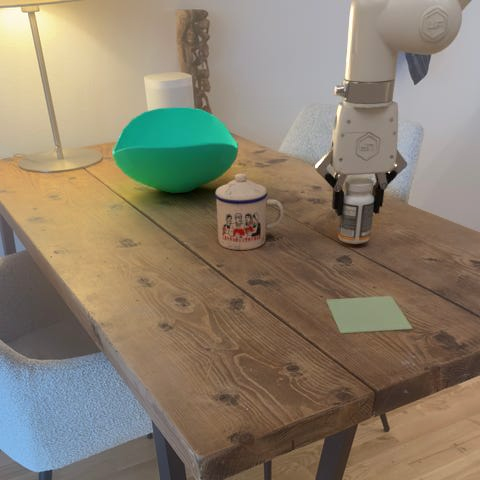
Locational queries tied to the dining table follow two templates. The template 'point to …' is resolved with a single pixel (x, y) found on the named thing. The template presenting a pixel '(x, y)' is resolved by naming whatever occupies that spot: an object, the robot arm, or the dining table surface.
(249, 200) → the teacup with lid
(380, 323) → the mat
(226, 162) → the table top decor
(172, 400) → the dining table surface
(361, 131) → the robot arm
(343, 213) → the pill bottle
